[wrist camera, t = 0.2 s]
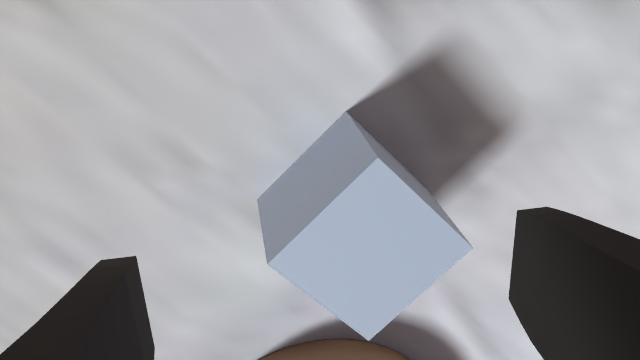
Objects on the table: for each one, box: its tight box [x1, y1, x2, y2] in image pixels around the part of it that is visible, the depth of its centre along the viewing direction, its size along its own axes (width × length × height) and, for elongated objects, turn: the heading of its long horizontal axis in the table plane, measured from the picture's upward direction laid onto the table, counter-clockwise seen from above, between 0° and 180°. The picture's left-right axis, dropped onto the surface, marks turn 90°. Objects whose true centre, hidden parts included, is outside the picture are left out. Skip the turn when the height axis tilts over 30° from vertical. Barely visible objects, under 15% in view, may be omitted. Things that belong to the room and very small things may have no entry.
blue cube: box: [257, 112, 473, 341], centre depth 20 cm, size 4×4×4 cm
